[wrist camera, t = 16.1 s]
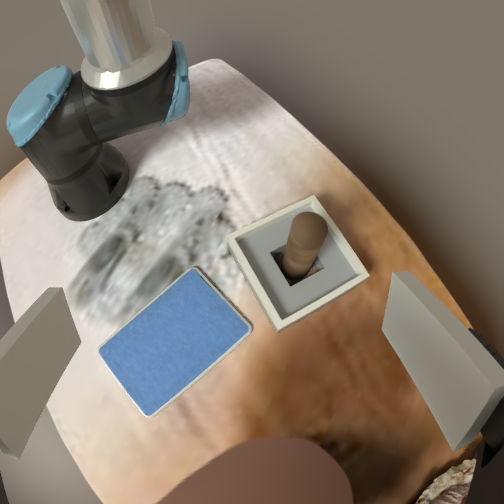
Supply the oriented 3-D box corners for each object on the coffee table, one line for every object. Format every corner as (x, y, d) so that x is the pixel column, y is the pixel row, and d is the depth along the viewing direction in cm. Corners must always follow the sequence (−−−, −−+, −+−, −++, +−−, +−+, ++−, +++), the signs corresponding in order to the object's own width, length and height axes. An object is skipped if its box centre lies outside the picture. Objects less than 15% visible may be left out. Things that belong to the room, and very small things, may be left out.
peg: (275, 261, 44) (284, 220, 33) (299, 249, 45) (314, 206, 34) (290, 285, 43) (304, 251, 32) (314, 272, 43) (335, 234, 32)
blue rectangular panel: (195, 266, 44) (193, 262, 43) (255, 330, 41) (255, 328, 39) (97, 350, 39) (93, 349, 38) (150, 420, 35) (147, 421, 34)
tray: (228, 247, 45) (226, 235, 41) (309, 208, 47) (313, 194, 44) (276, 333, 40) (279, 329, 36) (360, 284, 43) (369, 275, 39)
